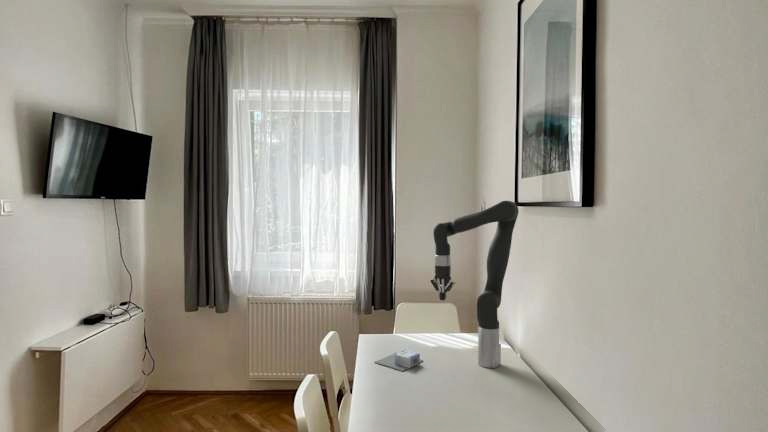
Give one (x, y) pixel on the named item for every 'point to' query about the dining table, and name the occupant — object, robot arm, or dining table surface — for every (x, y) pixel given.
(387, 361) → the rubber mat
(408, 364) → the medicine box
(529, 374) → the dining table surface
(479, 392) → the dining table surface
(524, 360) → the dining table surface
